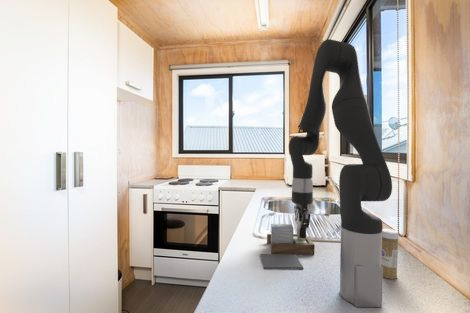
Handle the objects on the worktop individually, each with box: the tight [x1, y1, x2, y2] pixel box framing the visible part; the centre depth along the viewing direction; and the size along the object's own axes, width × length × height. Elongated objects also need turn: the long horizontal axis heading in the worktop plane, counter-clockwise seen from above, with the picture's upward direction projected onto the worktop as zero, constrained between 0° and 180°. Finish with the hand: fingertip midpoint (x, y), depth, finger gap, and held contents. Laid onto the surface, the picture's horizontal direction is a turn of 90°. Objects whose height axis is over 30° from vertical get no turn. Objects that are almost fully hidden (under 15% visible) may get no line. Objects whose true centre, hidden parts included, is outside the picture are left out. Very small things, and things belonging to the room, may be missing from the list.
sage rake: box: [293, 218, 307, 243], centre depth 97 cm, size 7×4×11 cm, turn 1°
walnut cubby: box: [266, 233, 316, 256], centre depth 97 cm, size 11×15×4 cm
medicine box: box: [270, 223, 294, 243], centre depth 97 cm, size 8×4×9 cm, turn 84°
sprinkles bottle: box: [381, 228, 400, 280], centre depth 76 cm, size 5×5×14 cm
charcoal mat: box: [260, 253, 304, 270], centre depth 85 cm, size 10×12×1 cm
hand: (301, 236), depth 97 cm, fingers closed on sage rake, 3 cm apart
